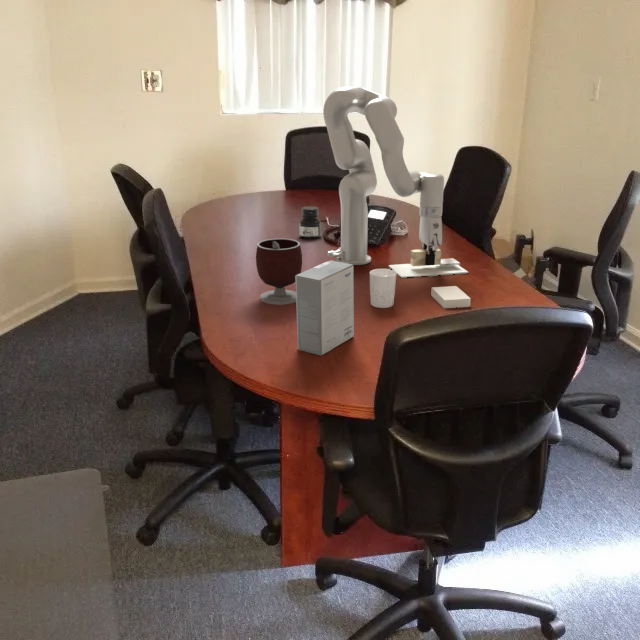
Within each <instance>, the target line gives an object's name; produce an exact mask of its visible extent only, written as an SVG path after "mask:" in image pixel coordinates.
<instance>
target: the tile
mask: <svg viewBox="0 0 640 640" xmlns="http://www.w3.org/2000/svg"><path fill="white" fill-rule="evenodd" d="M430 291H431V293H430V295H431V297H432V298H433V299H434V300H435V301H436V302H437V303H438V304H439V305H440V306H441V307H442V308H443V309H455V308H456V307H457V308H469V307H471V299H472V298H470V296H468V295H467V294H466V293H465V292H464V291H463V290H462V289H460V288H459V287H458V286H457V285H452V286H451V285H450V286H449V285H448V286H434V287H433V286H432V287H431V289H430ZM457 308H456V309H457Z"/></svg>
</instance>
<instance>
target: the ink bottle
mask: <svg viewBox="0 0 640 640" xmlns="http://www.w3.org/2000/svg"><path fill="white" fill-rule="evenodd" d="M301 217H302V218H301V219H300V220H299V225H298V228H299V229H298V232H299V233H298V234H299V237H300V236H301V237H305V238H304V239H306V238H315V239H317V238H316V237H319V238H320V237H322V221H321V220H320V219H319V207H318V206H307V205H306V206H303V207H301ZM301 237H300V238H301Z"/></svg>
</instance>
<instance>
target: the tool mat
mask: <svg viewBox="0 0 640 640" xmlns="http://www.w3.org/2000/svg"><path fill="white" fill-rule="evenodd" d="M388 269H392V270H394V271H396V273H397V274H396V276H398V277H399V276H400V277H401V279H408V278H407V277H414V278H422V277H421V276H428V277H438V275H441V276H454V275H453V274H455V275H467V273H468V274H469V271H468V270H466V269H465V268H463V267H462V266H461V265H446V266H440V265H428V266H412V265H411V264H410V263H400V264H389V265H388ZM400 277H399V278H400Z"/></svg>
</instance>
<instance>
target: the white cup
mask: <svg viewBox="0 0 640 640" xmlns="http://www.w3.org/2000/svg"><path fill="white" fill-rule="evenodd" d="M396 283H397V273H396V271H394V270H391V269H390V268H375V269H372V270H370V271H369V291H370V292H369V295H370V305H371V306H373V307H374V308H379V309H380V308H381V309H386V308H392V307H393V306H394V304H395V303H394V301H395V295H396V293H395V292H396Z"/></svg>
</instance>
